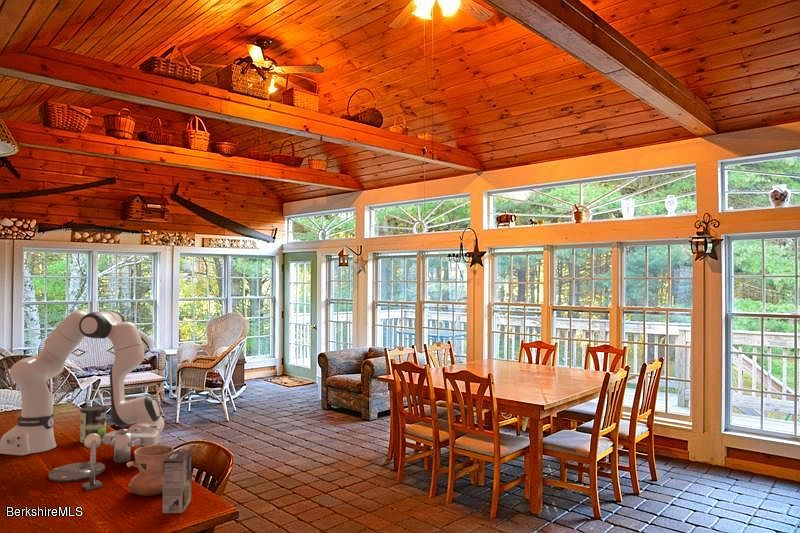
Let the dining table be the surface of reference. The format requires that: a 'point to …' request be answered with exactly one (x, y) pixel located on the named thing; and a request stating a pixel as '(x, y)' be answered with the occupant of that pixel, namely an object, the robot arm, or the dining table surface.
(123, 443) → the capped metal canister
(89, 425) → the coffee can
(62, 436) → the dining table surface
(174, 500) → the coffee box
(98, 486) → the metal joystick
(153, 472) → the ceramic jug
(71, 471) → the disc
